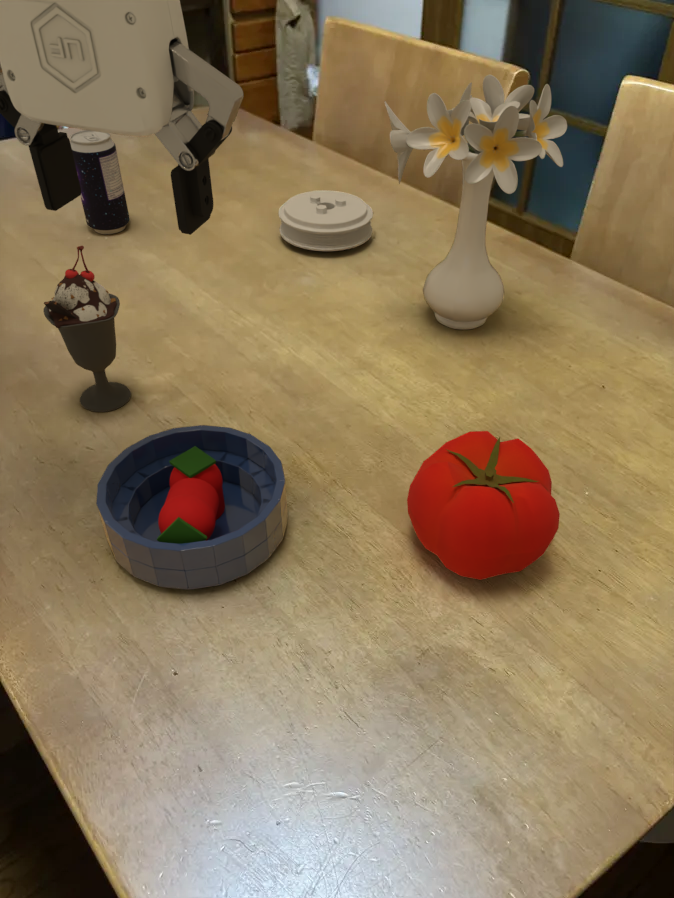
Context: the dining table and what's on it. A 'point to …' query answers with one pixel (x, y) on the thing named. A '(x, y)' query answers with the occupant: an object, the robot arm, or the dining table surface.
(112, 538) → the bowl
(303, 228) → the lid
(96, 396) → the sundae
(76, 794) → the dining table surface
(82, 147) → the beverage can
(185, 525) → the strawberry
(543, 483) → the tomato
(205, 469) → the strawberry
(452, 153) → the flower vase
